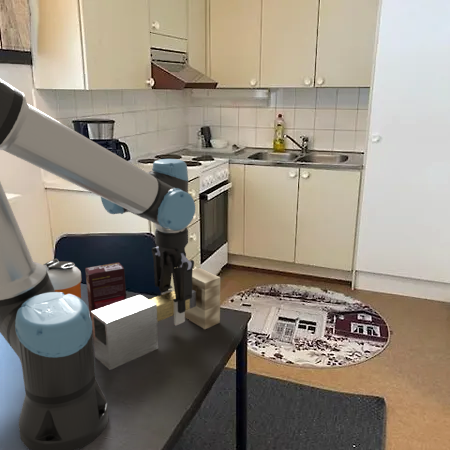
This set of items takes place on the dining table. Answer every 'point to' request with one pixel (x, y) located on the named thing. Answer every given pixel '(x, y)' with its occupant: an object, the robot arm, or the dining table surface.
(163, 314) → the yellow square bar
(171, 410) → the dining table surface
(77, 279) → the shaker bottle
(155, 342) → the sleeve
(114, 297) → the supplement box
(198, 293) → the socket
